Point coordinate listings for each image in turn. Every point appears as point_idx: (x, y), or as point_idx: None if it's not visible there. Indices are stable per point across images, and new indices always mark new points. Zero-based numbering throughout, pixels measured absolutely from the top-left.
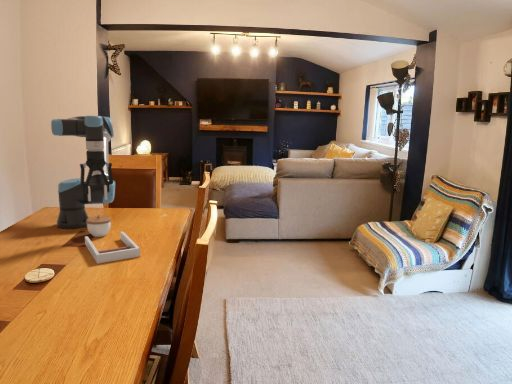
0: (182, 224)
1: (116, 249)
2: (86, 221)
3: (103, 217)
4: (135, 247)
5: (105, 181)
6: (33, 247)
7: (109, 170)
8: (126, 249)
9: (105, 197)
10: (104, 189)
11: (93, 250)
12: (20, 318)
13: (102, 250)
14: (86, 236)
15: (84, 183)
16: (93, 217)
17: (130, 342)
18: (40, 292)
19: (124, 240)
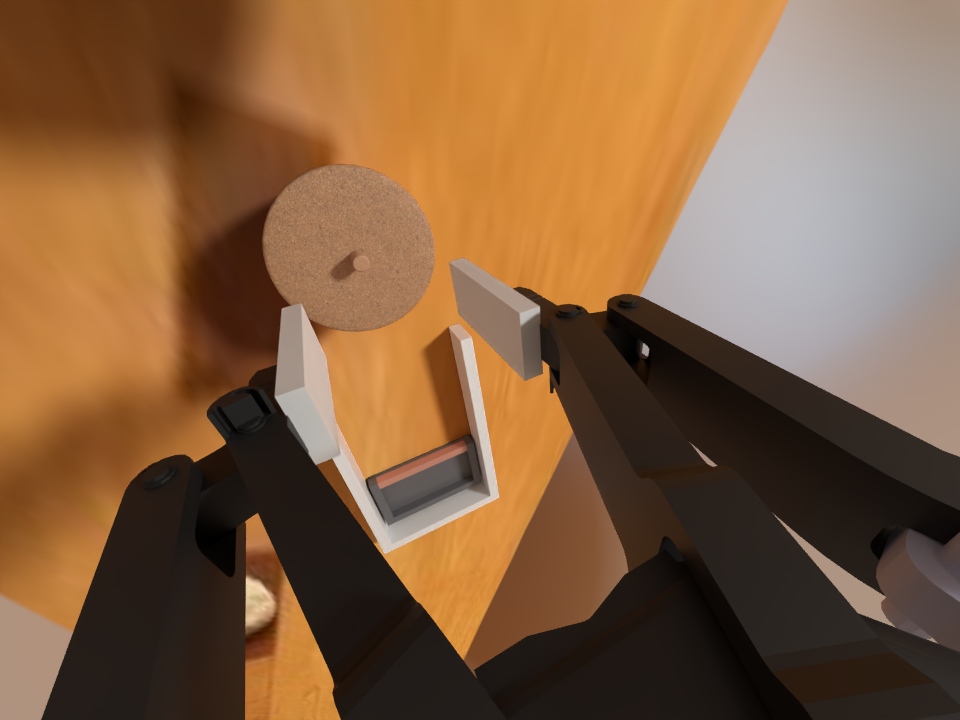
0: (705, 159)
1: (433, 463)
2: (270, 275)
3: (388, 226)
4: (489, 492)
5: (567, 409)
6: None
7: (788, 510)
8: (465, 509)
9: (465, 312)
10: (495, 313)
11: (368, 523)
12: (279, 712)
13: (390, 479)
14: None
15: (229, 480)
16: (309, 202)
17: None
18: (276, 659)
19: (463, 383)
